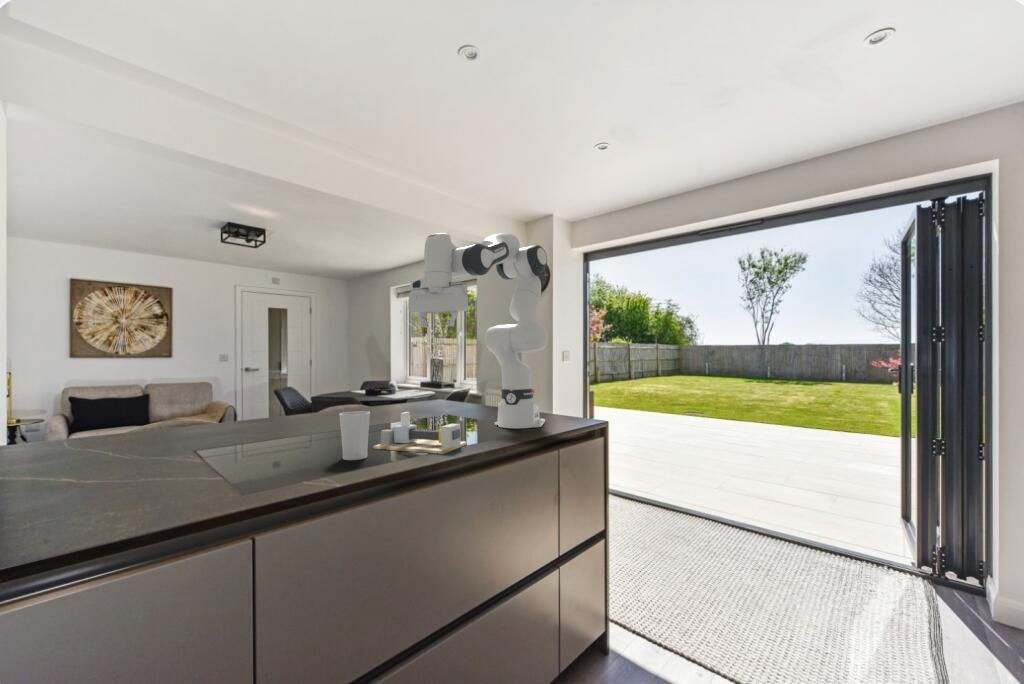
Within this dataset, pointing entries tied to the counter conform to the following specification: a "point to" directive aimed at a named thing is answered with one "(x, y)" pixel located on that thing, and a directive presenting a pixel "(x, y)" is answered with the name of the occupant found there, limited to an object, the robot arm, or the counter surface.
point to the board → (419, 446)
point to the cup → (354, 434)
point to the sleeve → (404, 429)
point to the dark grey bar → (424, 434)
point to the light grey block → (387, 437)
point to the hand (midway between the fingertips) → (437, 326)
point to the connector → (450, 435)
